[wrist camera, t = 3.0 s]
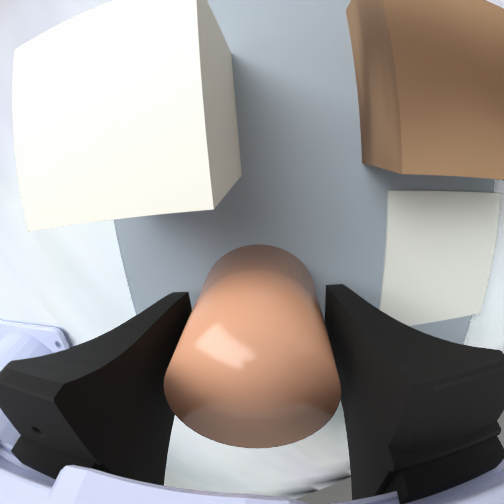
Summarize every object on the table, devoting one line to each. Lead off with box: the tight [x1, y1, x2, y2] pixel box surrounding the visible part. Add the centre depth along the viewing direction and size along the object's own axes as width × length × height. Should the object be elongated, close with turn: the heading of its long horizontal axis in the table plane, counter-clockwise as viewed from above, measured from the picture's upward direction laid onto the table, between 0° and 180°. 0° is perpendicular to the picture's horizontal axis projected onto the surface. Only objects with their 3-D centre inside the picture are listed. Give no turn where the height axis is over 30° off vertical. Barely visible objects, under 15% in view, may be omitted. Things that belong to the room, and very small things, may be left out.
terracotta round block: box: [164, 244, 341, 448], centre depth 9 cm, size 4×4×6 cm
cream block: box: [12, 0, 242, 232], centre depth 7 cm, size 4×4×6 cm
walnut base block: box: [346, 0, 504, 180], centre depth 7 cm, size 6×6×4 cm
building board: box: [114, 0, 501, 345], centre depth 11 cm, size 18×16×1 cm
